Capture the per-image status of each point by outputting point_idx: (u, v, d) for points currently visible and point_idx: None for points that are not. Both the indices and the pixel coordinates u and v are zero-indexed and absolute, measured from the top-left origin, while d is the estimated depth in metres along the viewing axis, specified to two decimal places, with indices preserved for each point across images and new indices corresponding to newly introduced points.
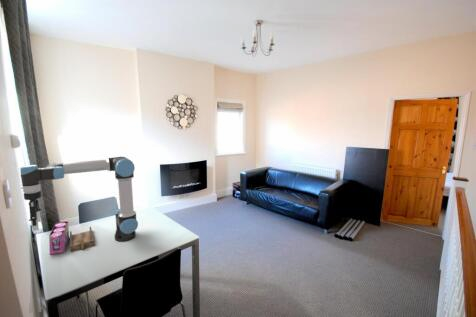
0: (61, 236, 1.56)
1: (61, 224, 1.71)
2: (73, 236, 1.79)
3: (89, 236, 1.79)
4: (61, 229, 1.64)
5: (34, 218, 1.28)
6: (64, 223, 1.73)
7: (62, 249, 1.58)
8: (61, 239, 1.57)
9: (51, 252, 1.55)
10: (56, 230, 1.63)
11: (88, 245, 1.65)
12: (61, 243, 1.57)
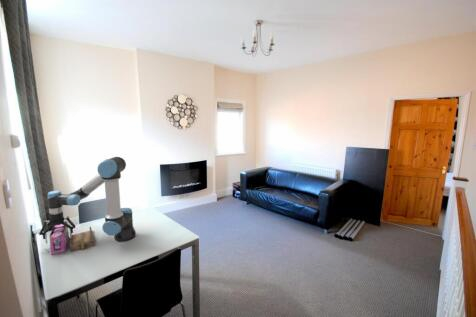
0: (61, 236, 1.57)
1: (60, 224, 1.71)
2: (73, 236, 1.79)
3: (89, 236, 1.79)
4: (61, 229, 1.64)
5: (39, 233, 1.58)
6: None
7: (63, 249, 1.59)
8: (62, 239, 1.57)
9: (52, 252, 1.56)
10: (56, 230, 1.63)
11: (88, 245, 1.65)
12: (62, 243, 1.57)
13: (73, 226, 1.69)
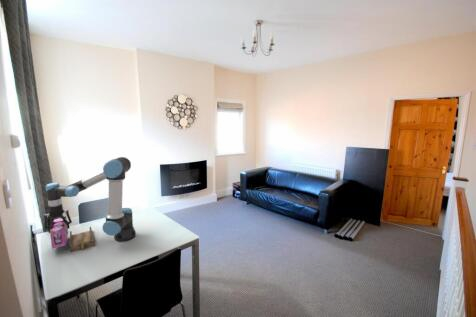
0: (62, 230, 1.56)
1: (59, 219, 1.71)
2: (73, 236, 1.79)
3: (89, 236, 1.79)
4: (61, 223, 1.64)
5: (44, 227, 1.59)
6: None
7: (64, 242, 1.58)
8: (62, 233, 1.57)
9: (53, 246, 1.55)
10: (56, 225, 1.62)
11: (88, 245, 1.65)
12: (63, 237, 1.57)
13: (69, 221, 1.67)
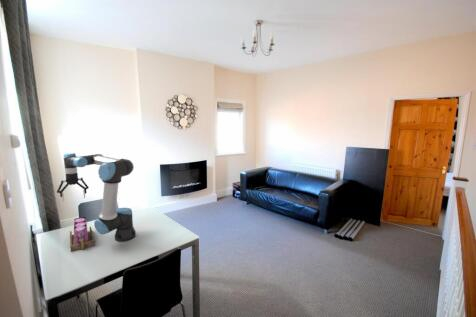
0: (85, 229, 1.65)
1: (80, 219, 1.79)
2: (73, 236, 1.79)
3: (89, 236, 1.79)
4: (82, 224, 1.72)
5: (57, 191, 1.73)
6: (82, 218, 1.81)
7: None
8: (85, 232, 1.65)
9: None
10: (78, 225, 1.70)
11: (88, 245, 1.65)
12: (85, 236, 1.65)
13: (86, 187, 1.83)
